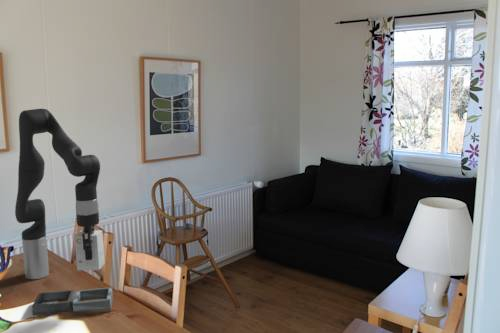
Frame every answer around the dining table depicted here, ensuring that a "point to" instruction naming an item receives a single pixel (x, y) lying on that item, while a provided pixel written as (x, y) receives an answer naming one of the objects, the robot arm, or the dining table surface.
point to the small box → (96, 252)
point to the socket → (53, 307)
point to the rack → (93, 301)
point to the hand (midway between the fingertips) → (90, 255)
